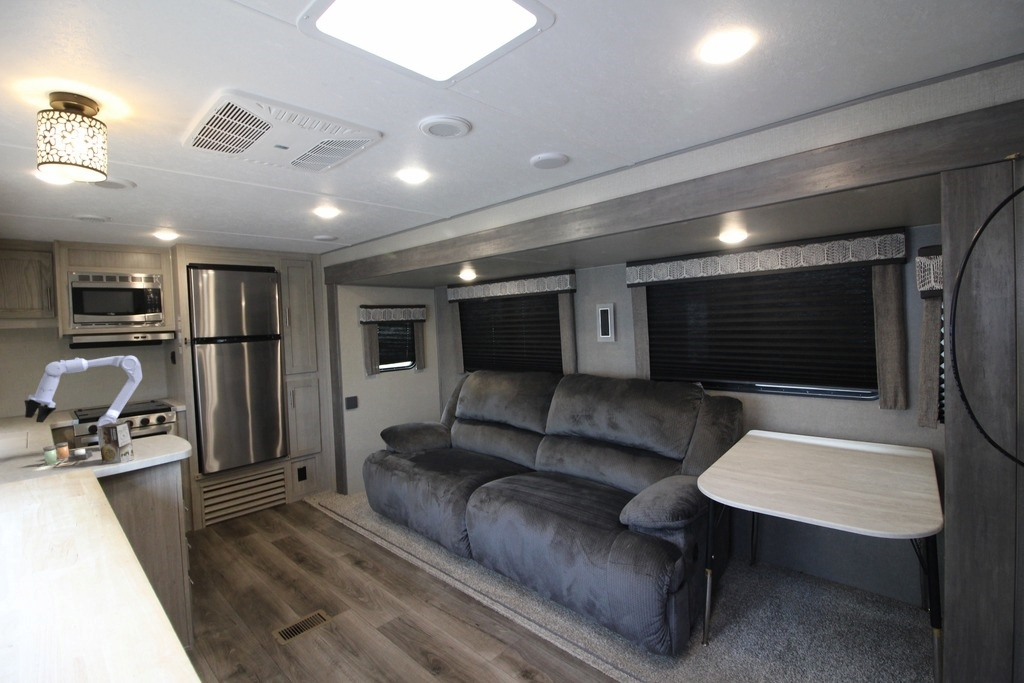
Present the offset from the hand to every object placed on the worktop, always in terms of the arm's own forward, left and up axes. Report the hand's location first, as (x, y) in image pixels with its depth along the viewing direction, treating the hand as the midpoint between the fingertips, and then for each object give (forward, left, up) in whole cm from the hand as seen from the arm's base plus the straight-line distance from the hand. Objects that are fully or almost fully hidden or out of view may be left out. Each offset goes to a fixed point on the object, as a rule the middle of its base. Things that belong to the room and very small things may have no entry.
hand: (33, 419), depth 203 cm
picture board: (-11, +11, -18) cm, 25 cm away
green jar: (-7, +9, -18) cm, 21 cm away
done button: (-16, +8, -18) cm, 25 cm away
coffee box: (-32, +18, -19) cm, 42 cm away
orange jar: (-8, +1, -18) cm, 20 cm away
